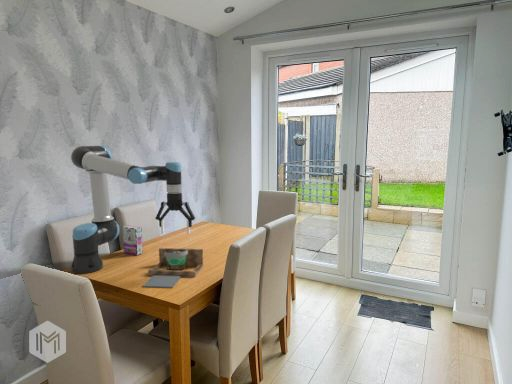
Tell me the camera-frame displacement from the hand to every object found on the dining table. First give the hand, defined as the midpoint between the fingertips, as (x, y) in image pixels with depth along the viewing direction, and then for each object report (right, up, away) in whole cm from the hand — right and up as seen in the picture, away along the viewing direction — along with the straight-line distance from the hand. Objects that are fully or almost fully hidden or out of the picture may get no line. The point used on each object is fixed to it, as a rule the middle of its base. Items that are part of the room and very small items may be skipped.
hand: (175, 233), depth 185 cm
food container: (0, -20, +3) cm, 20 cm away
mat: (-3, -22, -13) cm, 26 cm away
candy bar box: (-33, -16, +31) cm, 48 cm away
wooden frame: (0, -20, +3) cm, 20 cm away
